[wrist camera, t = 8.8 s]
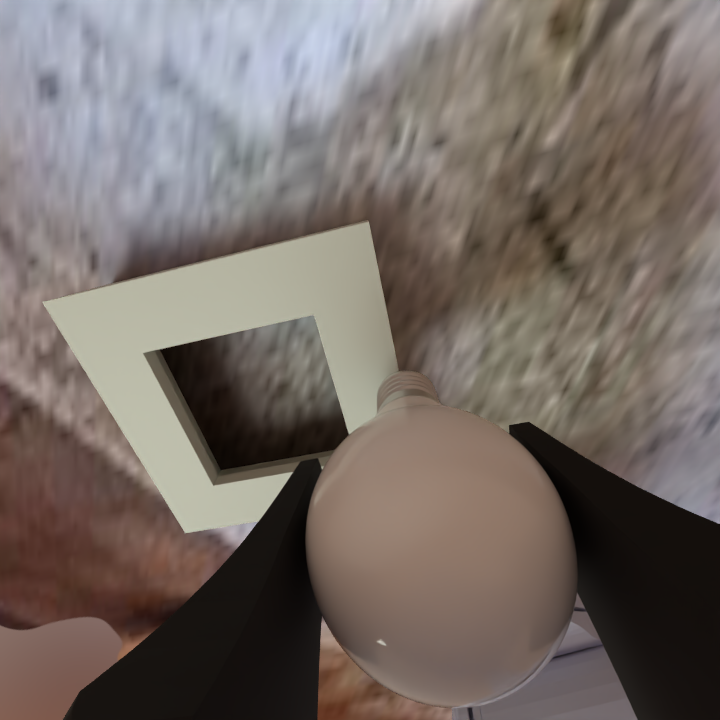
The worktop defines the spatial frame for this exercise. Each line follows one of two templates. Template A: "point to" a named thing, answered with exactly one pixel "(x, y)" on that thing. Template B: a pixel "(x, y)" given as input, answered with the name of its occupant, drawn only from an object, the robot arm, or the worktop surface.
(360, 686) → the worktop surface
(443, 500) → the lightbulb
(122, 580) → the worktop surface
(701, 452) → the worktop surface
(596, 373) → the worktop surface
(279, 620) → the robot arm
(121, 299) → the square bulb holder
